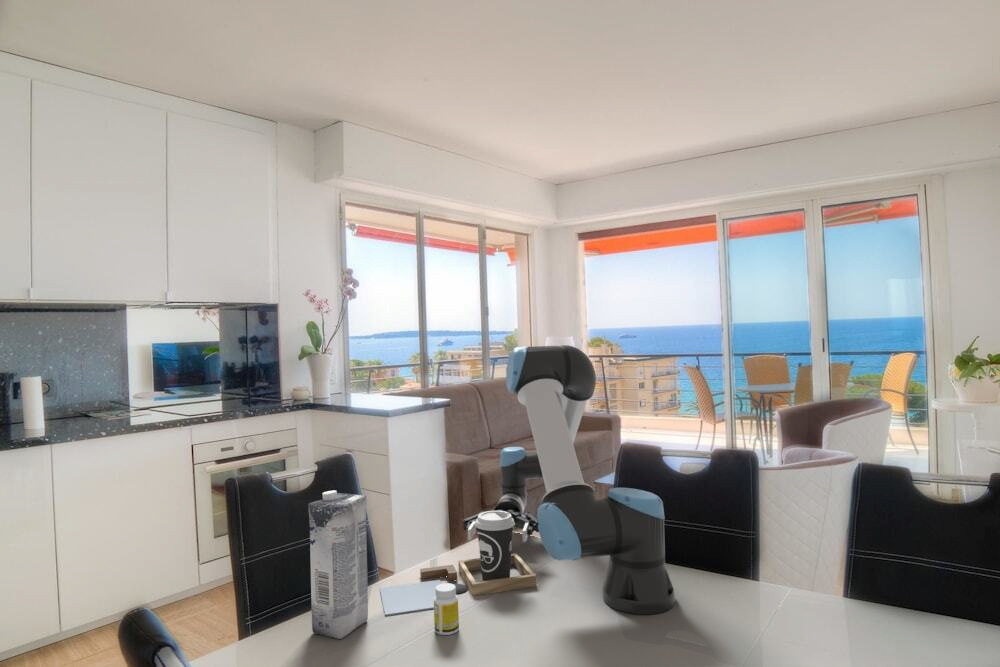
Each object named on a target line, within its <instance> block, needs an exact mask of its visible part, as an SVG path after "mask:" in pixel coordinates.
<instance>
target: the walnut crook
mask: <svg viewBox="0 0 1000 667" xmlns="http://www.w3.org/2000/svg"><path fill="white" fill-rule="evenodd" d="M419 569H420V573H419V574H420V580H421V581H427V580H429V581H430V580H435V578H436V579H441V578H440V577H443V578H446V579H447V578H448V579H447V581H448V580H449V581H452V582H455V581H454V580H457V581H458V572H457V569H456V567H455V566H454V564H448V565H441V566H433V567H425V568H419ZM446 576H447V577H446ZM449 581H448V582H449Z"/></svg>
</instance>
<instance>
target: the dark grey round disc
mask: <svg viewBox="0 0 1000 667" xmlns="http://www.w3.org/2000/svg"><path fill="white" fill-rule="evenodd" d="M454 585H455V586H456V595H460V594H463V593H466V592H467V591H469V588H468V586H467V585H466V584H460V583H458V584H457V583H455V584H454Z"/></svg>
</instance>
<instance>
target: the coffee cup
mask: <svg viewBox="0 0 1000 667" xmlns="http://www.w3.org/2000/svg"><path fill="white" fill-rule="evenodd" d="M479 513H480V512H479ZM479 513H478V514H479ZM514 525H515V522H514V519H513V518H512V516H511V514H510V513H509V512H505V511H494V510H487V511H486V512H483V513H480V514H479V515H478V518H477V519H476V522H475V526H476V527H477V530H476V533H477V537H478V538H477V539H478V548H479V550H478V551H479V558H480V559H481V569H482V570H481V576H482V581H488V580H495V579H502V578H509V577H511V567H512V566H511V554H512V547H513V546H512V545H513V533H514V532H513V531H514V527H513V526H514Z"/></svg>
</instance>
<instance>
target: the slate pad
mask: <svg viewBox="0 0 1000 667" xmlns="http://www.w3.org/2000/svg"><path fill="white" fill-rule="evenodd" d="M440 584H443V583H442V581H441V579H436V580H435V579H434V580H429V581H427V580H426V581H423V582H422V581H421V582H414V583H408V584H407V583H406V584H400V585H399V584H398V585H392V586H391V585H390V586H384V587H379V592H380V596H381V601H382V602H381V603H382V606H383V611H384V616H385V617H387V616H394V615H400V614H401V615H402V614H407V613H413V612H422V611H428V610H434V598H435V596H436V594H435V588H436V586H438V585H440Z"/></svg>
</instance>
